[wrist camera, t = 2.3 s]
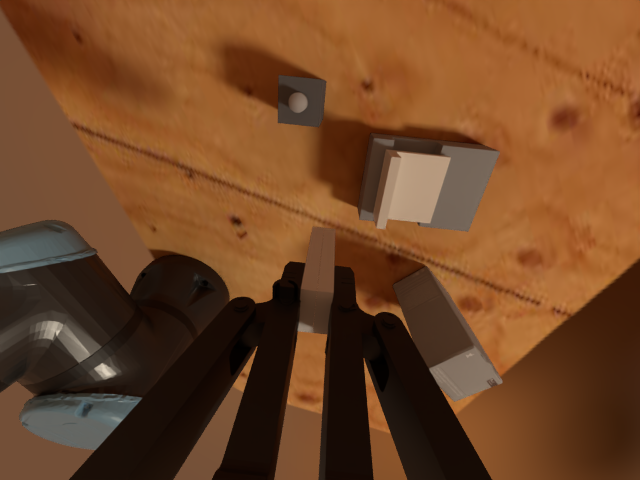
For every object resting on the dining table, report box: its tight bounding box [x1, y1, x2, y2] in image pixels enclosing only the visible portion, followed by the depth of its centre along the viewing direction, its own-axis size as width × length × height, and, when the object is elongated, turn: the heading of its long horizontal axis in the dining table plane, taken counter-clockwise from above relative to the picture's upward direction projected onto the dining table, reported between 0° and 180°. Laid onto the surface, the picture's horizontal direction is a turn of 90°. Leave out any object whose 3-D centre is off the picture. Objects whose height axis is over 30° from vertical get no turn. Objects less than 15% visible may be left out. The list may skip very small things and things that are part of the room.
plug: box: [278, 75, 326, 127], centre depth 29 cm, size 4×4×10 cm
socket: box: [358, 133, 500, 231], centre depth 35 cm, size 14×10×4 cm
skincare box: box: [393, 266, 502, 401], centre depth 38 cm, size 8×7×16 cm
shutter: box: [373, 149, 451, 229], centre depth 31 cm, size 7×8×4 cm
